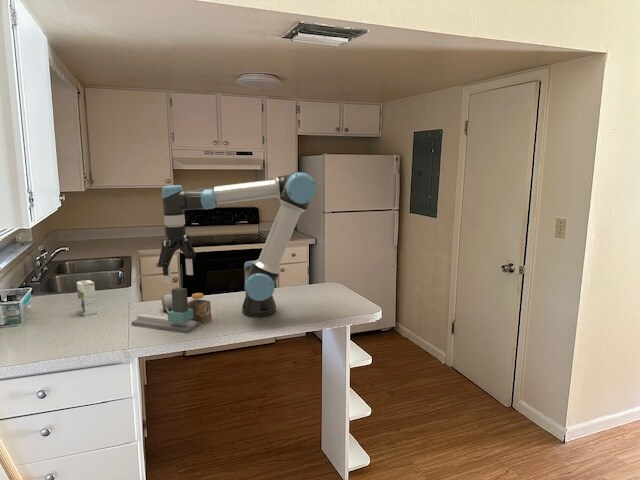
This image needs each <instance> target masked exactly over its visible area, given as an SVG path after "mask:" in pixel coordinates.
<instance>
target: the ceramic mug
mask: <svg viewBox="0 0 640 480" xmlns="http://www.w3.org/2000/svg"><path fill="white" fill-rule="evenodd" d="M161 306H162V310H163V311H165V312H166V313H168V312H170V311H169V310H171V311H172V310H173V305H172V293H167V294H164V295H162V296H161Z"/></svg>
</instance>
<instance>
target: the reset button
mask: <svg viewBox="0 0 640 480" xmlns="http://www.w3.org/2000/svg"><path fill="white" fill-rule="evenodd" d="M191 297H192V300H194V299H199V300H201V299H203V298H204V293H203V292H196V293H192V294H191Z"/></svg>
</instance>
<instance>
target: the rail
mask: <svg viewBox="0 0 640 480" xmlns="http://www.w3.org/2000/svg"><path fill="white" fill-rule="evenodd" d="M136 318H137V319H134V320H132V321H131V326H133V325H134V327H140V326H141V327H142V328H147V327H149V328H148V329H154V328H156V330H161V329H163V330H162V331H168V332H169V331H170V332H177V333H184V334H189V333H191V332H193V331H194V330H195V329H197V328H200V326H202V324H201V322H199V321H192V320H189V321H187V322H185V323H183V324H182V323H175V322H168V316H160V315H152V314H146V313H140V314H137V315H136ZM141 327H140V328H141Z"/></svg>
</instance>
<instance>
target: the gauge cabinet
mask: <svg viewBox="0 0 640 480" xmlns="http://www.w3.org/2000/svg"><path fill="white" fill-rule="evenodd" d="M211 304H212V303H211V300H207V299H192V300H190V301H188V308H189V309H193V314H194V318H192V319H190V320H192V321H199V322H201V325H204V324H206V323H208V322H209V321H211V320H212V309H211Z"/></svg>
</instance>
